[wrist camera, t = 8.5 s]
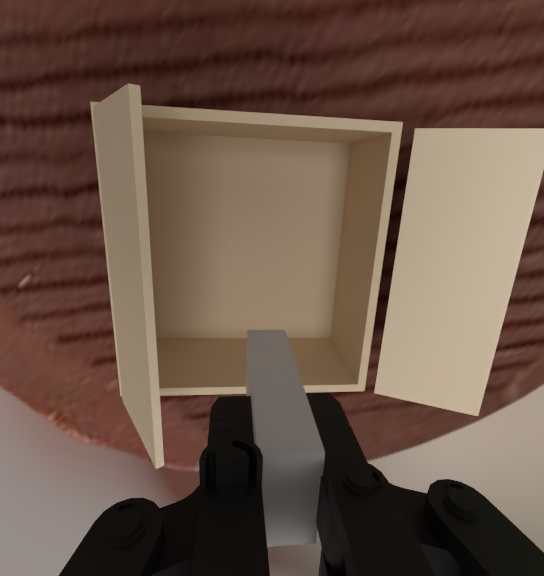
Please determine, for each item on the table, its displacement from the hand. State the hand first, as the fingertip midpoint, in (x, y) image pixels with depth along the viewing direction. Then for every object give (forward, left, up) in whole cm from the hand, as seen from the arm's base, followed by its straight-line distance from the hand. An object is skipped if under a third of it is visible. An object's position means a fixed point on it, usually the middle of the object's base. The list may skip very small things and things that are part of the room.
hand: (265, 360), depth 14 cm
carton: (0, 0, -23) cm, 23 cm away
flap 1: (0, -10, -13) cm, 17 cm away
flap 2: (0, +10, -13) cm, 16 cm away
